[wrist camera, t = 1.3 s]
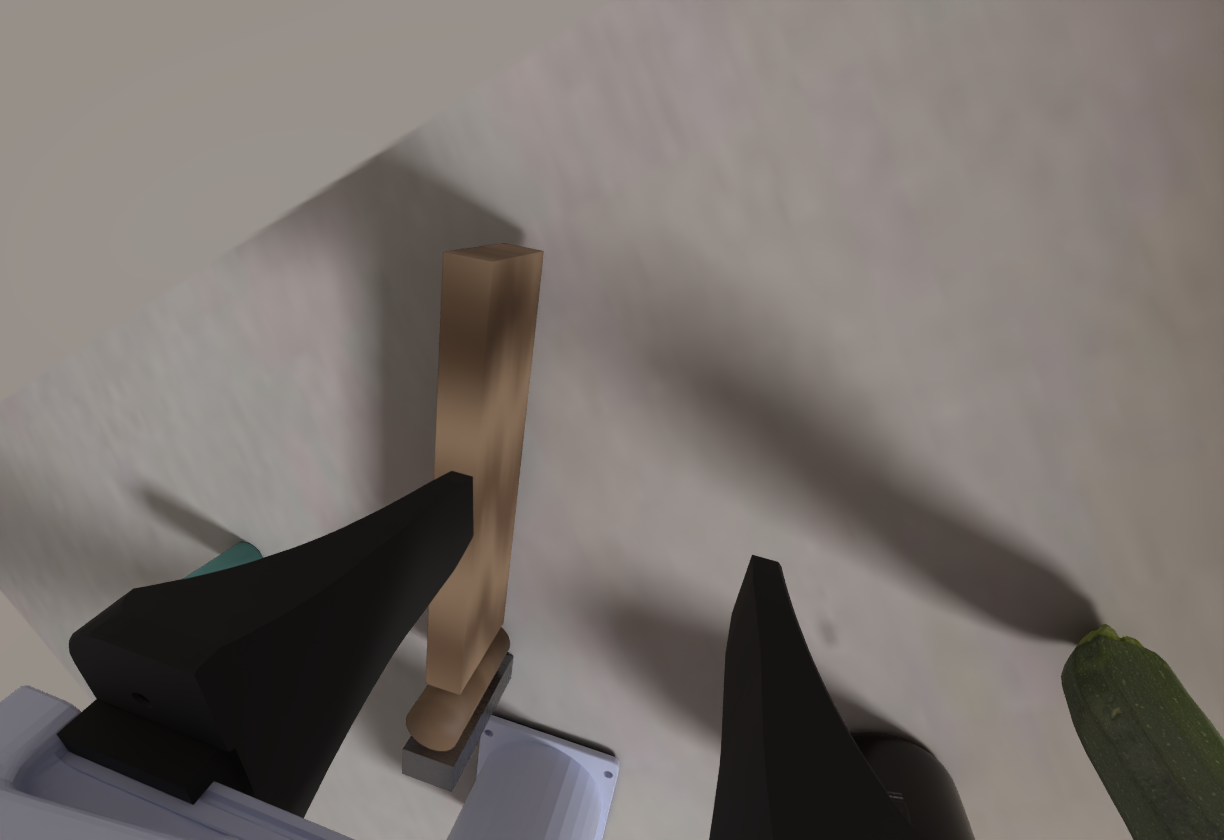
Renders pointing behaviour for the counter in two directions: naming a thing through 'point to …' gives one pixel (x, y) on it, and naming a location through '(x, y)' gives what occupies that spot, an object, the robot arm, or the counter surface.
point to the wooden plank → (478, 471)
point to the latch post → (229, 559)
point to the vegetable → (1146, 739)
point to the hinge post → (450, 763)
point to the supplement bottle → (917, 786)
